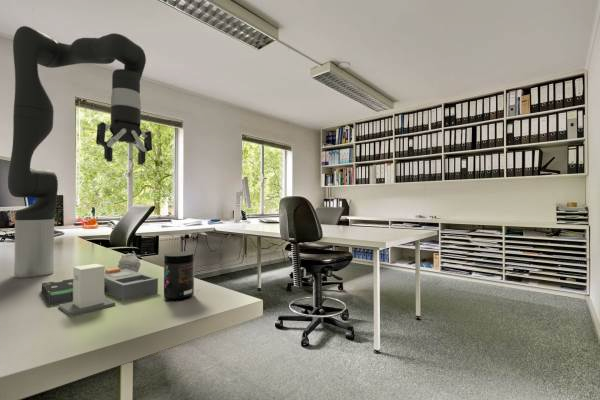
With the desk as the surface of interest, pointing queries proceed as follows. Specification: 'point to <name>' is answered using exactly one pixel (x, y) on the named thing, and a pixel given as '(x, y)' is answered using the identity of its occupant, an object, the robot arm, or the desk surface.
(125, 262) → the frog figurine
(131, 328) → the desk surface
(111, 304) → the mat
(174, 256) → the supplement container
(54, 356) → the desk surface
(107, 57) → the robot arm
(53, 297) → the disk drive
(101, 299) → the charger
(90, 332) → the desk surface
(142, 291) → the desk organizer
